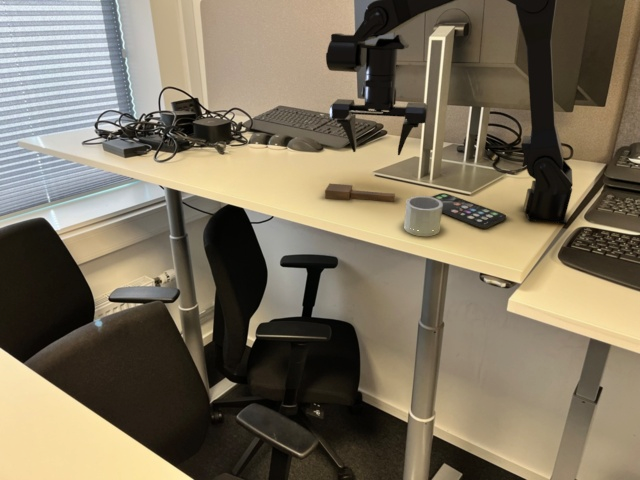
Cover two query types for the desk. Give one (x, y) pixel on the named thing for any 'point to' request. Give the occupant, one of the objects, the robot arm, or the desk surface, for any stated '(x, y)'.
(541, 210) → the robot arm
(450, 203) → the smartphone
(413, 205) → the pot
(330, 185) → the brown block with handle
